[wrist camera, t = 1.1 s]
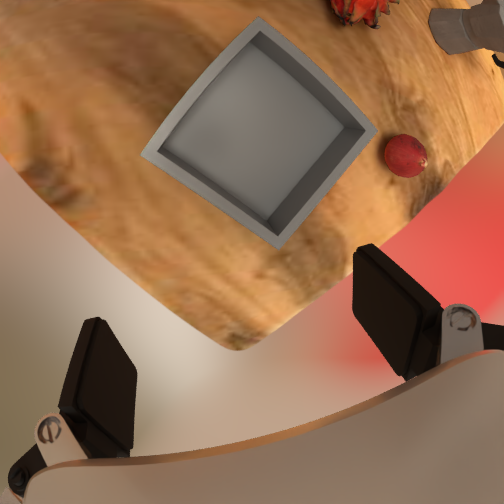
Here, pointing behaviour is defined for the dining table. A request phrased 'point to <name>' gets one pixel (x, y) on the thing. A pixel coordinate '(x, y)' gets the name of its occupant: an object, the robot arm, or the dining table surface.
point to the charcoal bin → (261, 134)
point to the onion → (405, 156)
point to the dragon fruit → (361, 11)
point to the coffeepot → (470, 28)
